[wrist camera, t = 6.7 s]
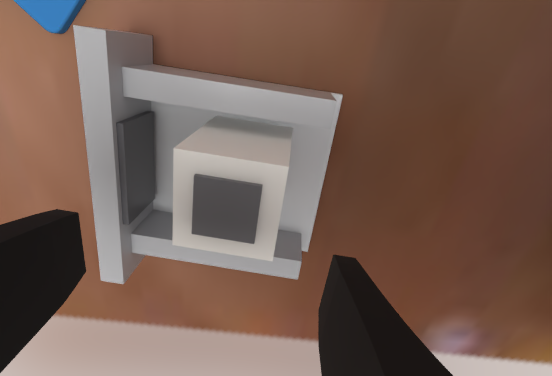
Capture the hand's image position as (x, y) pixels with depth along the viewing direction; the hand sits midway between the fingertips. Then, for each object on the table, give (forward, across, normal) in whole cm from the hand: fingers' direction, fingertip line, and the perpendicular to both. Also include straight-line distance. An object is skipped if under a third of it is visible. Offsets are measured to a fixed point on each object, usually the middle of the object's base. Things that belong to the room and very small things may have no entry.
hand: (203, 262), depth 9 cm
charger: (+9, 0, 0) cm, 9 cm away
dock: (+9, +1, 0) cm, 9 cm away
